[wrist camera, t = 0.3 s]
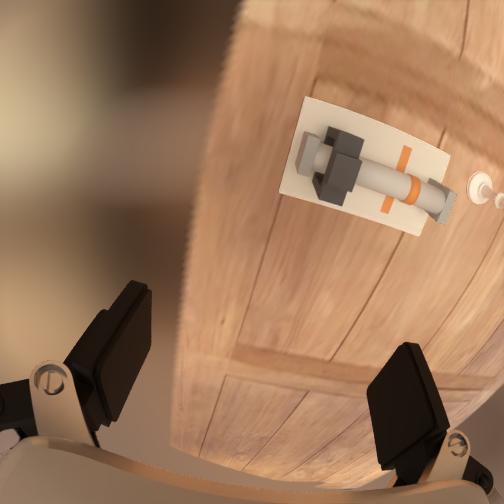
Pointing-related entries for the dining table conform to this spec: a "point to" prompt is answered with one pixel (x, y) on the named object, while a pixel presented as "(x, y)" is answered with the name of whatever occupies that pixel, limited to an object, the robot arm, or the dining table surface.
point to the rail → (371, 150)
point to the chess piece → (483, 190)
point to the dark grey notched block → (339, 167)
